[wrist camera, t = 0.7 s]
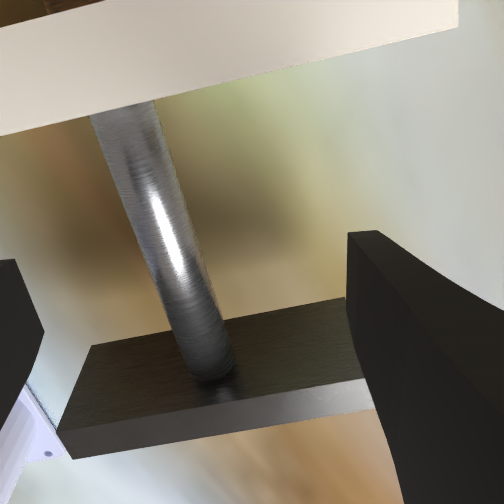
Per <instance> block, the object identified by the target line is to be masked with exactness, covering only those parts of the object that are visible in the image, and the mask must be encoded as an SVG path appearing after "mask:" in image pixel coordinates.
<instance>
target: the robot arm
mask: <svg viewBox="0 0 504 504" xmlns="http://www.w3.org/2000/svg"><path fill="white" fill-rule="evenodd" d="M346 312H347V317H348V322H349V327H350V332H351V336H352V340H353V345H354V349H355V352H356V355H357V358H358V361H359V364H360V366H361V369H362V372H363V375H364V378H365V380H366V383H367V386H368V389H369V392H370V394H371V397H372V400H373V403H374V405H375V408H376V411H377V414H378V417H379V419H380V422H381V425H382V428H383V430H384V433H385V436H386V439H387V442H388V445H389V448H390V451H391V454H392V458H393V461H394V464H395V468H396V472H397V476H398V480H399V484H400V488H401V492H402V496H403V500H404V504H504V311H503V310H501V309H499V308H497V307H496V306H494V305H492V304H490V303H488V302H486V301H484V300H483V299H481V298H479V297H478V296H476V295H474V294H472V293H471V292H469V291H467V290H466V289H464V288H462V287H461V286H459V285H457V284H456V283H454V282H452V281H451V280H449V279H448V278H446V277H444V276H443V275H441V274H440V273H438V272H437V271H435V270H434V269H432V268H431V267H429V266H428V265H426V264H425V263H423V262H422V261H421V260H419V259H418V258H416V257H415V256H413V255H412V254H411V253H409V252H408V251H406V250H405V249H404V248H402V247H401V246H399V245H398V244H397V243H395V242H394V241H392V240H391V239H390V238H388V237H387V236H385V235H384V234H382V233H381V232H379V231H377V230H372V231H359V232H348V240H347V285H346ZM43 335H44V329H43V327H42V324H41V322H40V319H39V317H38V315H37V312H36V310H35V307H34V305H33V302H32V300H31V297H30V295H29V292H28V290H27V288H26V285H25V283H24V280H23V278H22V275H21V273H20V270H19V268H18V266H17V263H16V261H15V259H7V260H0V504H7V503H8V501H9V499H10V497H11V494H12V492H13V490H14V488H15V486H16V483H17V481H18V479H19V477H20V475H21V472H22V470H23V468H24V466H25V464H26V463H28V462H34V461H40V460H46V459H52V458H57V457H61V456H63V455H64V453H65V451H66V448H65V447H64V445H63V444H62V442H61V441H60V439H59V438H58V436H57V434H56V433H55V432H56V431H55V429H54V427H53V426H52V424H51V423H50V421H49V420H48V418H47V417H46V415H45V414H44V412H43V410H42V409H41V407H40V406H39V404H38V403H37V401H36V400H35V398H34V396H33V395H32V393H31V392H30V390H29V389H28V387H27V386H26V384H25V383H26V381H27V379H28V377H29V375H30V373H31V370H32V368H33V365H34V362H35V360H36V357H37V354H38V351H39V348H40V345H41V341H42V338H43Z"/></svg>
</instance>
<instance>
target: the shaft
mask: <svg viewBox="0 0 504 504" xmlns="http://www.w3.org/2000/svg"><path fill="white" fill-rule="evenodd" d="M42 1H43V3H44V6H45V8H46V11H47V13H48V15H51V14H55V13H59V12H63V11H67V10H71V9H75V8H78V7H82V6H86V5H90V4H94V3H98V2H101V1H105V0H42ZM88 118H89V120H90V123H91V125H92V128H93V130H94V133H95V135H96V138H97V140H98V143H99V145H100V148H101V151H102V153H103V156H104V158H105V161H106V163H107V166H108V168H109V171H110V173H111V176H112V178H113V181H114V184H115V186H116V189H117V191H118V194H119V196H120V199H121V201H122V204H123V206H124V209H125V212H126V214H127V217H128V219H129V222H130V224H131V227H132V229H133V232H134V234H135V237H136V239H137V242H138V245H139V247H140V250H141V252H142V255H143V257H144V260H145V262H146V265H147V267H148V270H149V272H150V275H151V278H152V280H153V283H154V285H155V288H156V290H157V293H158V295H159V298H160V300H161V303H162V305H163V308H164V311H165V313H166V316H167V318H168V321H169V323H170V326H171V328H172V330H170V331H165V332H159V333H154V334H149V335H144V336H139V337H133V338H128V339H123V340H118V341H113V342H107V343H102V344H97V345H92V346H91V348H90V350H89V353H88V355H87V358H86V360H85V362H84V365H83V367H82V370H81V372H80V374H79V377H78V379H77V382H76V384H75V386H74V389H73V391H72V394H71V396H70V398H69V401H68V403H67V406H66V408H65V410H64V413H63V415H62V418H61V420H60V422H59V425H58V427H57V430H56V432H55V433H56V434H57V436H58V438H59V439H60V441H61V442H62V444H63V445H64V447H65V448H66V450H67V451H68V453H69V455H70V456H71V458H72V459H73V460H74V459H80V458H86V457H92V456H98V455H103V454H109V453H115V452H121V451H127V450H133V449H139V448H145V447H151V446H156V445H162V444H168V443H174V442H180V441H186V440H192V439H198V438H204V437H209V436H215V435H221V434H227V433H233V432H239V431H245V430H251V429H257V428H262V427H268V426H274V425H280V424H286V423H292V422H298V421H304V420H310V419H315V418H321V417H327V416H333V415H339V414H345V413H351V412H357V411H363V410H368V409H374V408H375V405H374V403H373V400H372V397H371V394H370V392H369V389H368V386H367V383H366V380H365V378H364V375H363V372H362V369H361V366H360V364H359V361H358V358H357V355H356V352H355V349H354V345H353V340H352V336H351V332H350V327H349V322H348V317H347V312H346V299H345V297H342V298H336V299H331V300H326V301H321V302H316V303H310V304H305V305H300V306H295V307H290V308H284V309H279V310H274V311H269V312H264V313H258V314H253V315H248V316H243V317H238V318H232V319H227V320H223V317H222V314H221V311H220V308H219V305H218V302H217V298H216V295H215V292H214V289H213V286H212V283H211V280H210V276H209V273H208V270H207V267H206V264H205V261H204V258H203V255H202V251H201V248H200V245H199V242H198V239H197V236H196V233H195V229H194V226H193V223H192V220H191V217H190V214H189V211H188V207H187V204H186V201H185V198H184V195H183V192H182V189H181V185H180V182H179V179H178V176H177V173H176V170H175V167H174V163H173V160H172V157H171V154H170V151H169V148H168V145H167V141H166V138H165V135H164V132H163V129H162V126H161V123H160V120H159V116H158V113H157V110H156V107H155V104H154V101H153V100H150V101H146V102H142V103H137V104H133V105H129V106H125V107H121V108H116V109H112V110H108V111H104V112H100V113H95V114H91V115H88Z"/></svg>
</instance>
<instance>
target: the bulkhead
mask: <svg viewBox="0 0 504 504" xmlns="http://www.w3.org/2000/svg"><path fill="white" fill-rule="evenodd" d="M456 27H458V0H105V1H101V2H98V3H94V4H90V5H86V6H82V7H78V8H75V9H71V10H67V11H63V12H59V13H55V14H51V15H48V16H44V17H40V18H36V19H32V20H28V21H25V22H21V23H17V24H13V25H9V26H5V27H2V28H0V136H3V135H7V134H12V133H16V132H20V131H24V130H28V129H32V128H37V127H41V126H45V125H49V124H53V123H58V122H62V121H66V120H70V119H74V118H79V117H83V116H87V115H91V114H95V113H100V112H104V111H108V110H112V109H116V108H121V107H125V106H129V105H133V104H137V103H142V102H146V101H150V100H154V99H158V98H163V97H167V96H171V95H175V94H179V93H184V92H188V91H192V90H196V89H200V88H205V87H209V86H213V85H217V84H221V83H226V82H230V81H234V80H238V79H242V78H247V77H251V76H255V75H259V74H263V73H268V72H272V71H276V70H280V69H284V68H289V67H293V66H297V65H301V64H305V63H310V62H314V61H318V60H322V59H326V58H331V57H335V56H339V55H343V54H347V53H352V52H356V51H360V50H364V49H368V48H373V47H377V46H381V45H385V44H389V43H393V42H398V41H402V40H406V39H410V38H414V37H419V36H423V35H427V34H431V33H435V32H440V31H444V30H448V29H452V28H456Z"/></svg>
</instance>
